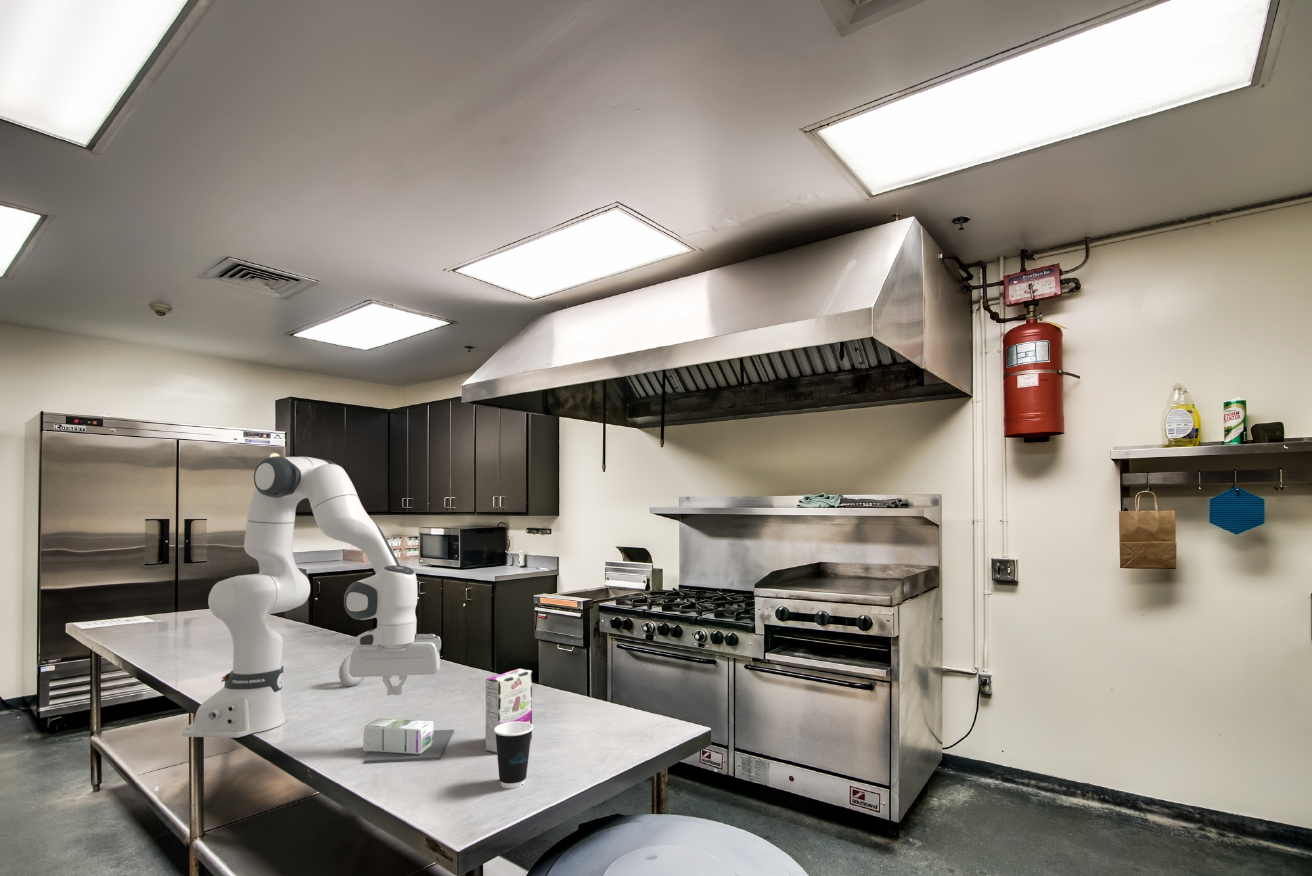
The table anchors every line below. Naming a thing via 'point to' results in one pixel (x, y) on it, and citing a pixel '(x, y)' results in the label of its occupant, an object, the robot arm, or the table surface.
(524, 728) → the dixie cup
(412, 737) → the syrup box
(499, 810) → the table surface
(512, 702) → the candy bar box
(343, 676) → the donut
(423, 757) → the mat
